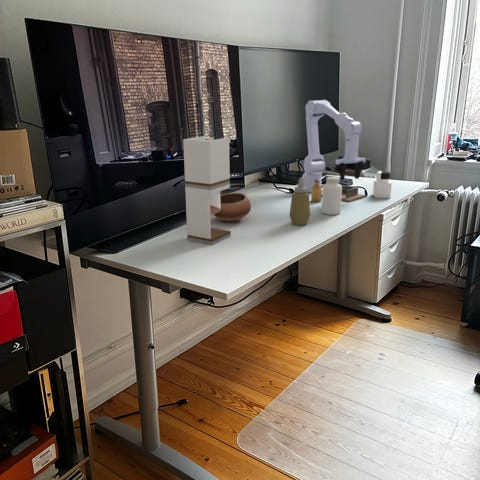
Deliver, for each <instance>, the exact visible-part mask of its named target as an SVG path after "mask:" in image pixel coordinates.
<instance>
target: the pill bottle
mask: <svg viewBox="0 0 480 480" xmlns="http://www.w3.org/2000/svg"><path fill="white" fill-rule="evenodd" d="M340 180H341V179H340V176H339V177H338V176H327V177H326V183H324V184H323V186H322V190H323V191H322V197H321V213H322V214H325V215H329V216H336V215H340V214H341V212H342V211H341V210H342V201H341V198H342V186H341V185H342V184H340Z"/></svg>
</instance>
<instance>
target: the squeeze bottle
mask: <svg viewBox="0 0 480 480" xmlns="http://www.w3.org/2000/svg"><path fill="white" fill-rule="evenodd" d="M290 200H291V201H290V209H289V218H290V221H291V224H292V225H295V226H305V225H307V224H308V222H309V221H310V220H309V219H310V217H311V205H310V193H309V192H307V187H304V183H303V178H302V177H299V179H298V183H297V186H295V187H294V192H293V193H292V194H291V199H290Z"/></svg>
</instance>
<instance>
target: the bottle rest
mask: <svg viewBox="0 0 480 480" xmlns="http://www.w3.org/2000/svg"><path fill="white" fill-rule="evenodd" d="M340 185H341V186H342V198H341V202H347V203H351V202H354V201H355V202H356V201H359V200H361V199H365V198H367V195H366V194H362V193H359V187H356V186H350V185H345V184H340ZM321 198H322V196H321Z"/></svg>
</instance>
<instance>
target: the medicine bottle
mask: <svg viewBox="0 0 480 480" xmlns="http://www.w3.org/2000/svg"><path fill="white" fill-rule="evenodd" d="M390 177H391V172H390V171H387V170H379V171H377V172H376V178H375V179H374V180H373V186H372V187H373V189H372V195H373V196H374V198H377V199H380V198H381V199H390V198H391V196H392V195H391V193H392V182H391V180H390Z"/></svg>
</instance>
